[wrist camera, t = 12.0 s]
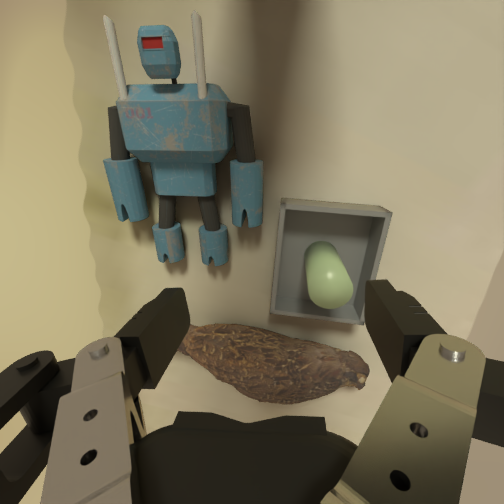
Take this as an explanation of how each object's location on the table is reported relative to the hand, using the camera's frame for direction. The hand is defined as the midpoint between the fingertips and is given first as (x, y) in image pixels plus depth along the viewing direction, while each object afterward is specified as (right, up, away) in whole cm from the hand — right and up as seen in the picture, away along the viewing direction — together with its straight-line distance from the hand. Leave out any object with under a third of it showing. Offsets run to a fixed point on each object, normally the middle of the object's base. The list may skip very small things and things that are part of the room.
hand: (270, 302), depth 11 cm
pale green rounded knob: (+10, +2, +30) cm, 31 cm away
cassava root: (-1, -15, +38) cm, 41 cm away
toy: (-10, +16, +28) cm, 34 cm away
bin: (+10, +2, +30) cm, 32 cm away
